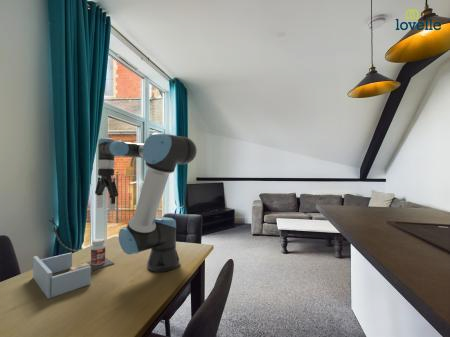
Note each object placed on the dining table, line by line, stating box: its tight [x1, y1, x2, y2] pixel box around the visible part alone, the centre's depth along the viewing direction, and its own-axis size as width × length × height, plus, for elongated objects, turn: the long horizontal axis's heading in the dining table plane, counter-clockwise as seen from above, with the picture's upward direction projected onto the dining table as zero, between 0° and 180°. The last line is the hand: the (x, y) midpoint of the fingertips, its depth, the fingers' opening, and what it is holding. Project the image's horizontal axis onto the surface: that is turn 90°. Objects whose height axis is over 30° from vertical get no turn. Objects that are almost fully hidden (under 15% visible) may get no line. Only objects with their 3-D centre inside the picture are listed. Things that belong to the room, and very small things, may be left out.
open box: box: [32, 252, 92, 299], centre depth 95 cm, size 24×14×9 cm, turn 50°
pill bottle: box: [90, 238, 106, 265], centre depth 112 cm, size 6×6×11 cm
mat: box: [81, 257, 115, 272], centre depth 112 cm, size 11×11×1 cm
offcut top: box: [69, 262, 90, 272], centre depth 101 cm, size 6×4×2 cm, turn 143°
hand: (105, 208), depth 119 cm, fingers open, 13 cm apart
